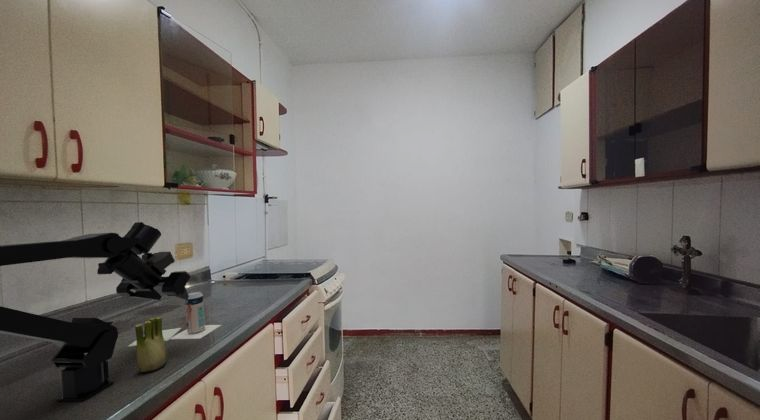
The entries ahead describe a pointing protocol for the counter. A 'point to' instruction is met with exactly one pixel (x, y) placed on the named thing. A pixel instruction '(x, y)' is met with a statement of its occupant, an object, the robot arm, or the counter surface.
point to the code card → (197, 335)
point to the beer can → (195, 313)
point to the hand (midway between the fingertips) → (173, 298)
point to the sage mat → (166, 335)
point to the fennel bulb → (150, 345)
